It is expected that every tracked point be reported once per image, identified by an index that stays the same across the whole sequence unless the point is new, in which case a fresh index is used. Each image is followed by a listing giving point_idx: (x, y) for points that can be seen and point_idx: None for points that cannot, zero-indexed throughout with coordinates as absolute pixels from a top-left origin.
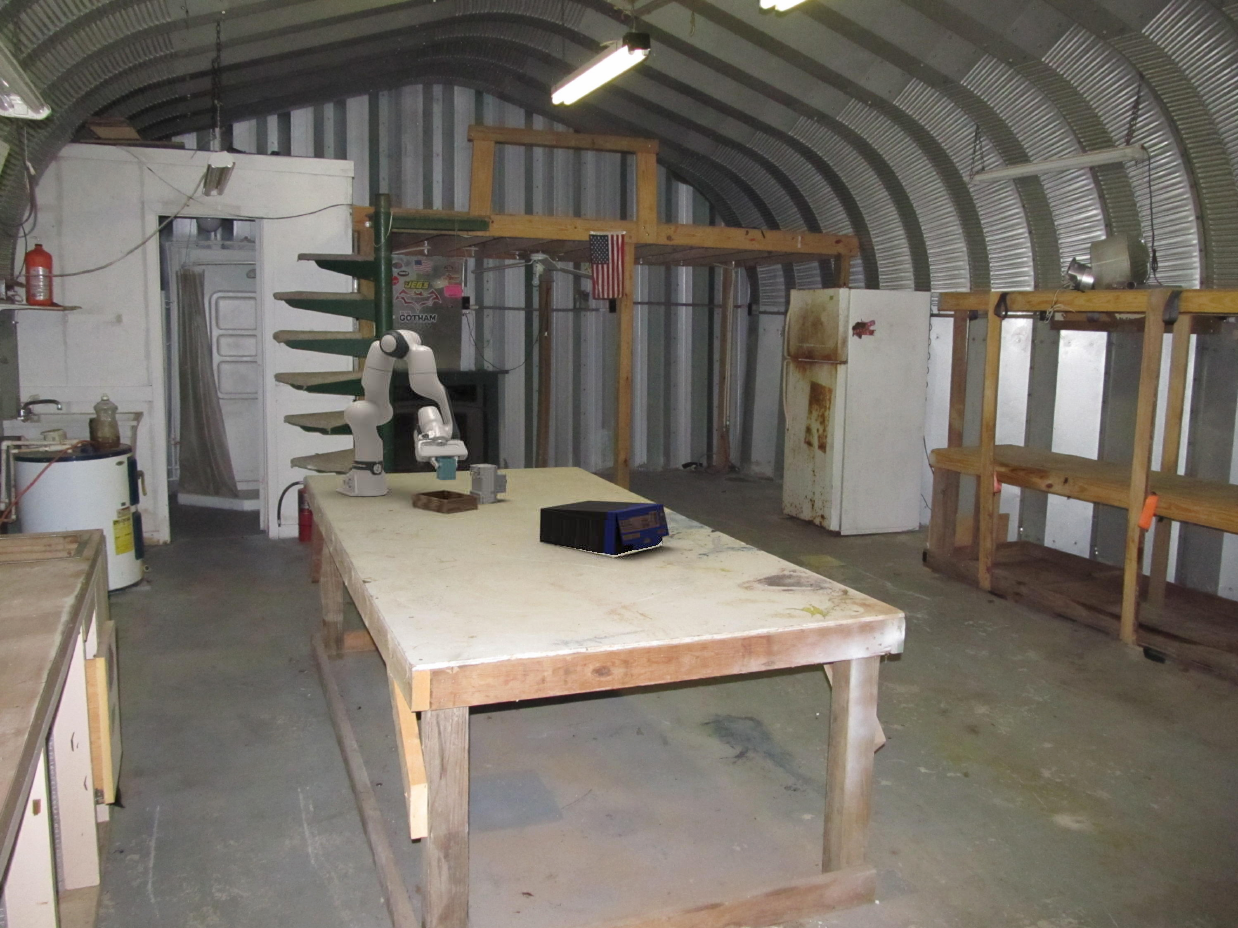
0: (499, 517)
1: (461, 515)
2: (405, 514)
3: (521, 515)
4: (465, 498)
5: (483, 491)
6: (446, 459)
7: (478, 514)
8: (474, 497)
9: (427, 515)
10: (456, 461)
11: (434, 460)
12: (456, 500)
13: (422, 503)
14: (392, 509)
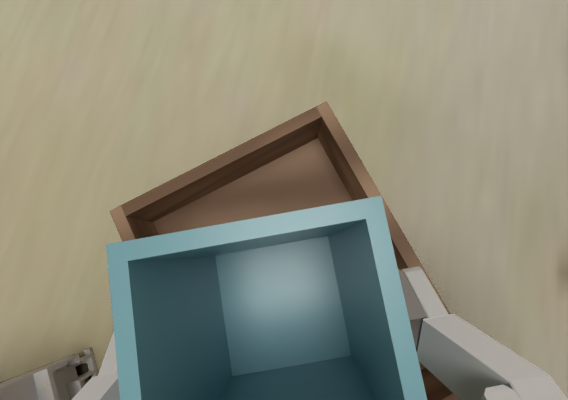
0: (120, 11)
1: (260, 81)
2: (503, 153)
3: (18, 34)
4: (198, 167)
5: (17, 380)
6: (294, 212)
7: (183, 89)
8: (137, 198)
9: (406, 110)
10: (87, 391)
11: (489, 360)
12: (258, 137)
13: None
14: (559, 300)
